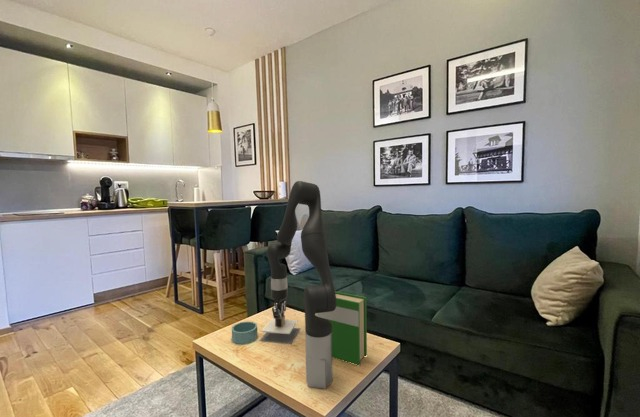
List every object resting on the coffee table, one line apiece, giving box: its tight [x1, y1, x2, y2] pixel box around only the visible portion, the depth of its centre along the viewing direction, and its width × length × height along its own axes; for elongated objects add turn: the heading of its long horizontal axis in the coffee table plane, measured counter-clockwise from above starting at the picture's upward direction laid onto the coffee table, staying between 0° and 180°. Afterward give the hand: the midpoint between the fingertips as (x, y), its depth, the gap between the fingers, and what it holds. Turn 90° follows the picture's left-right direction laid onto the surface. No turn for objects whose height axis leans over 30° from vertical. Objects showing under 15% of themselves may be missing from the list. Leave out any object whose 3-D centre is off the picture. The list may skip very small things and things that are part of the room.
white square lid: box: [260, 314, 299, 334], centre depth 132 cm, size 13×13×5 cm
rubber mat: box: [259, 327, 302, 345], centre depth 133 cm, size 15×15×1 cm
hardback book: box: [319, 290, 368, 366], centre depth 116 cm, size 18×7×24 cm, turn 58°
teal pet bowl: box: [231, 321, 258, 346], centre depth 130 cm, size 11×11×6 cm
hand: (280, 324), depth 133 cm, fingers closed on white square lid, 3 cm apart
